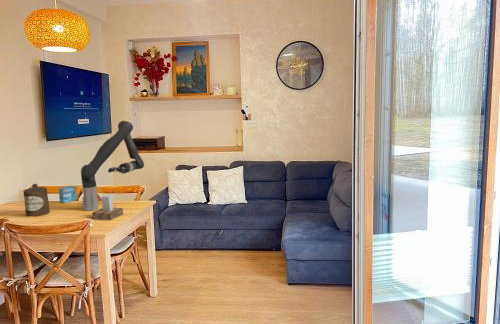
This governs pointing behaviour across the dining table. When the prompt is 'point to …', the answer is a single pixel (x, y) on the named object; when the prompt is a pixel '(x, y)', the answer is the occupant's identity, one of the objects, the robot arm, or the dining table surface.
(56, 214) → the dining table surface
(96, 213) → the walnut block
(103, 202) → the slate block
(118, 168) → the robot arm
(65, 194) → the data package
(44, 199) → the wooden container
